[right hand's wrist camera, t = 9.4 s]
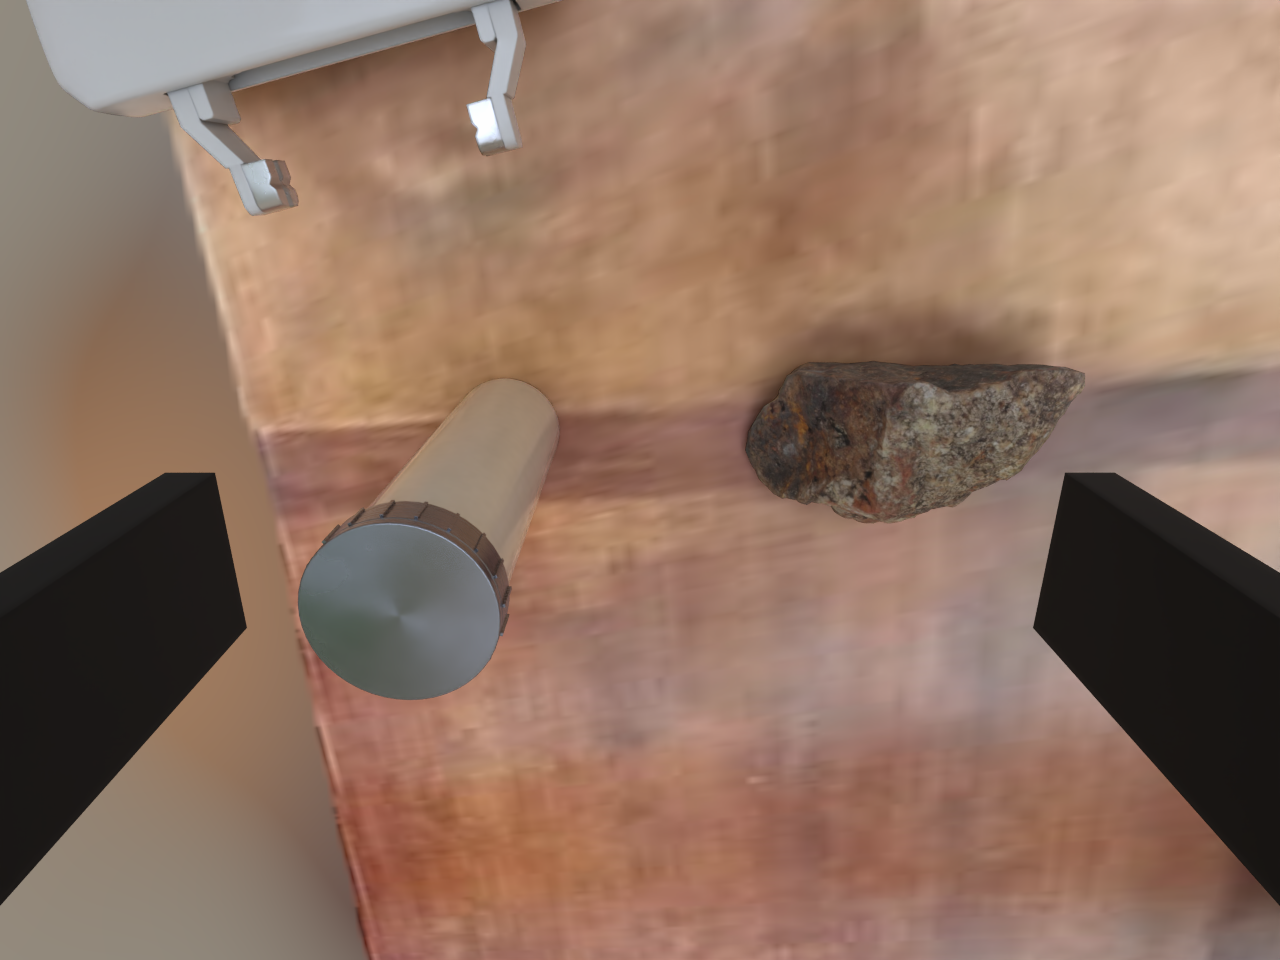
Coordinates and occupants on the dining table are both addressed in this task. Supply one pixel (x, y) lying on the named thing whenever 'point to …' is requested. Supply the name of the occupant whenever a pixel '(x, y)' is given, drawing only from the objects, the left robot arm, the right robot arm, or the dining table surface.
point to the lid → (405, 600)
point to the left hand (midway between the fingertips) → (387, 181)
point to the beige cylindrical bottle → (486, 463)
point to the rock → (904, 433)
